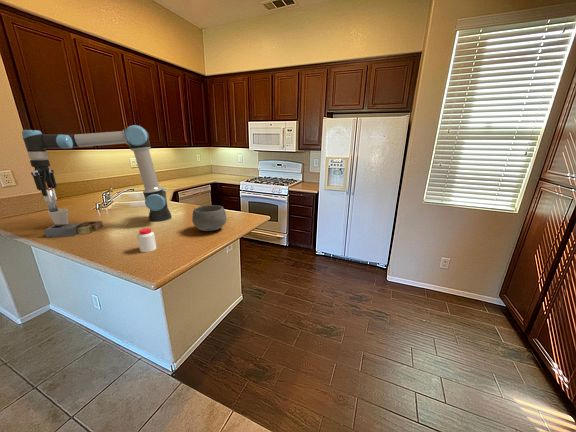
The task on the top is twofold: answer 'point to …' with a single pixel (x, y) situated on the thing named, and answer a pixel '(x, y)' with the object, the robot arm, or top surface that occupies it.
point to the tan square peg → (84, 230)
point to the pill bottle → (146, 240)
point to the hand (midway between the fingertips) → (50, 200)
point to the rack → (93, 225)
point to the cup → (59, 216)
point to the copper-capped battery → (52, 201)
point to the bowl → (209, 217)
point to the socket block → (62, 230)
